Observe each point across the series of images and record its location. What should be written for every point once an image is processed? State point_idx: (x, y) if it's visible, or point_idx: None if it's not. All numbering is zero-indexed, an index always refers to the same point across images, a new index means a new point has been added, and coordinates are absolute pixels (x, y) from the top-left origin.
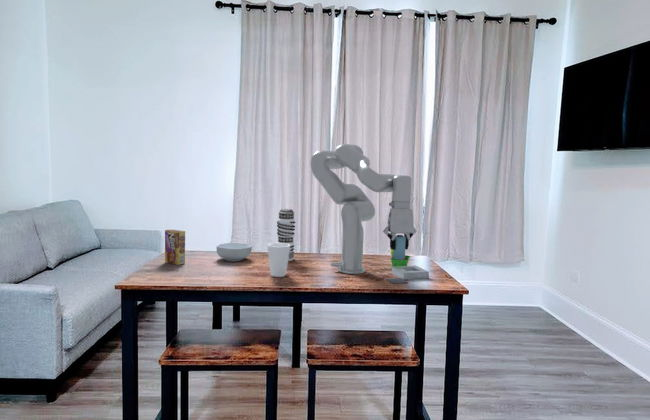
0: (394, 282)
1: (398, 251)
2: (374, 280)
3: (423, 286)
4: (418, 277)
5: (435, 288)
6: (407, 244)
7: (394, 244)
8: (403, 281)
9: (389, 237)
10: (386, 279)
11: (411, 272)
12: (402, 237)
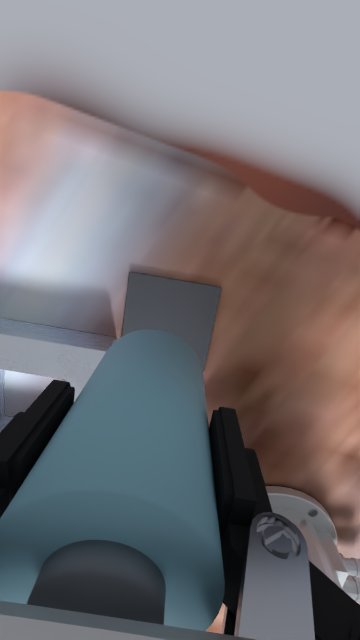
0: (205, 295)
1: (185, 374)
2: (268, 374)
3: (82, 189)
4: (25, 325)
5: (35, 126)
6: (33, 413)
7: (238, 449)
8: (145, 296)
9: (339, 595)
10: (205, 362)
11: (56, 344)
12: (96, 511)
